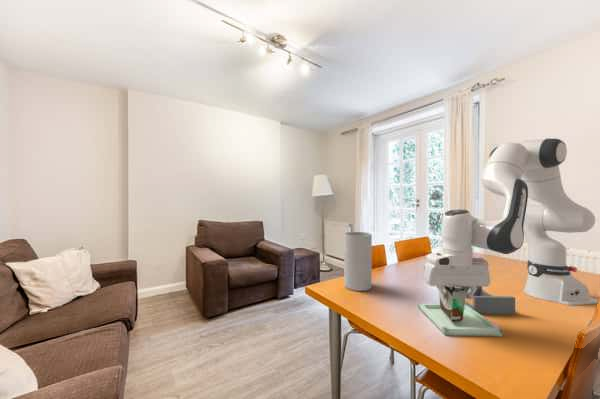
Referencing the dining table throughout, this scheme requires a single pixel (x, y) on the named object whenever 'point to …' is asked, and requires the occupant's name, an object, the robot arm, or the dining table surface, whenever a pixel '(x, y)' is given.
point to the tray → (460, 322)
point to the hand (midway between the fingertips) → (456, 298)
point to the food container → (453, 302)
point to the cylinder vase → (358, 261)
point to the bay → (491, 303)
